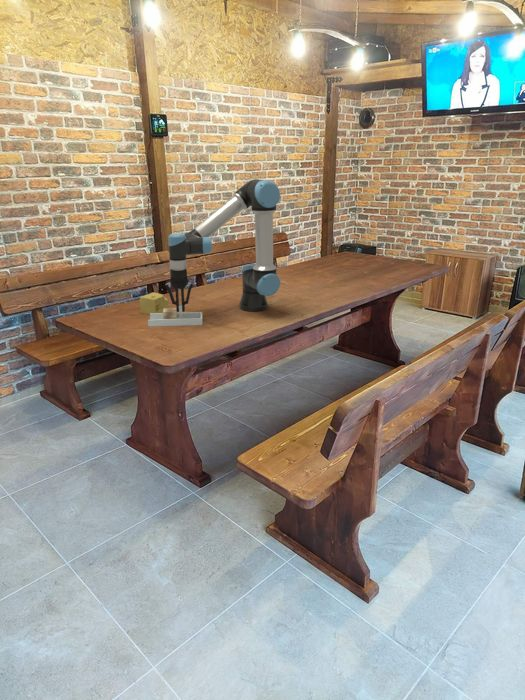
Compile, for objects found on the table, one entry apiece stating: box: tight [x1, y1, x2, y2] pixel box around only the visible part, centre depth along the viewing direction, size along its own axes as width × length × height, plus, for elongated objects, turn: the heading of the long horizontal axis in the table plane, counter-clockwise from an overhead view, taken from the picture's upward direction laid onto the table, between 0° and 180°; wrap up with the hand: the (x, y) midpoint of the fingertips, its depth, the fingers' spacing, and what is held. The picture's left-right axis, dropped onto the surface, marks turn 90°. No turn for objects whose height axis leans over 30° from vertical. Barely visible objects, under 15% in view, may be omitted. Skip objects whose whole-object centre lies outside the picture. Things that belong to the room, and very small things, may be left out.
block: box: [163, 307, 178, 319], centre depth 230 cm, size 6×6×6 cm
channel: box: [147, 311, 204, 328], centre depth 232 cm, size 25×11×4 cm, turn 97°
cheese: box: [139, 292, 170, 315], centre depth 246 cm, size 10×11×10 cm
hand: (181, 318), depth 231 cm, fingers closed
